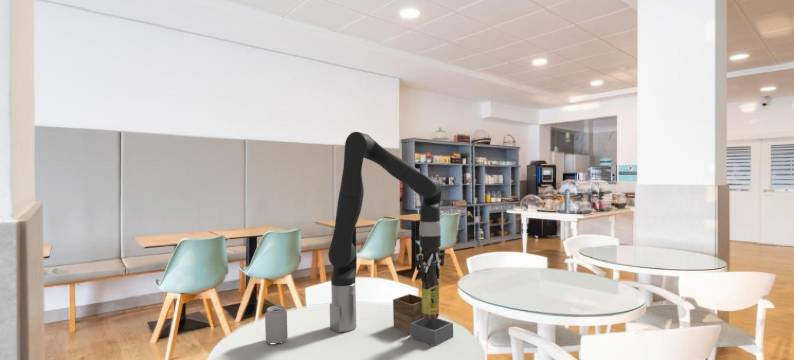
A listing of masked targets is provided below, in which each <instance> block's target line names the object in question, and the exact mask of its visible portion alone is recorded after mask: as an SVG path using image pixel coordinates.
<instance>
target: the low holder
mask: <svg viewBox="0 0 794 360" xmlns="http://www.w3.org/2000/svg"><path fill="white" fill-rule="evenodd" d="M410 337H411V339H412V338H413V339H416V340H418V341H420V342H423V343H426V344H429V345H432V346H434V347H435V346H438V345H440V344H441V343H444V342H446V341H448V340H450V339H452V338H454V322H451V321H449V320H448V321H447V320H446V319H442V318H439V317H438V318H436V319H425V318H422V319H419V320H417V321H415V322H412V323H411V333H410Z"/></svg>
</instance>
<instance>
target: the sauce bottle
mask: <svg viewBox="0 0 794 360" xmlns="http://www.w3.org/2000/svg"><path fill="white" fill-rule="evenodd" d="M424 263H427V262H424ZM427 272H428V282H427V283H423V282H422V281H421V282H422V283H421V297H422V316H423V318H425V319H436V318H439V315H440V282H439V279H437V276H436V261H435V262H431V264H430V266H429V267H428V270H427Z"/></svg>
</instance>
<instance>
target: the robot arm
mask: <svg viewBox="0 0 794 360" xmlns="http://www.w3.org/2000/svg"><path fill="white" fill-rule="evenodd" d="M343 154H344V156H343V166H342V167H343V169H342V173H341V174H342V176H341V181H340V188H339V193H338V197H337V206H336V214H335V222H334V223H335V224H334V231H333V235H332V238H331V242H330V245H329V249H328V253H327V255H328V257H327V258H328V260H329V262H330V264H331V265H332V266H333V269H332V274H331V279H330V280H331V281H330V282H331V287H330V288H331V303H329V328H330V330H333V331H334V332H337V333H339V334H340V333H346V332H347V333H348V332H351V331H353V330H356V328H357V300H356V299H357V295H356V293H357V291H356V278H357V277H356V276H357V257H358V256H357V250H356V249H357V248H356V246H355V245H354V243H353V238H354V237H353V236H354V231H355V228H356V225H357V223H358V220H359V217H360V214H361V211H362V206H363V201H364V194H365V192H364V191H365V190H364V183H363V176H362V175H363V174H362V168H363V163H364V162H363V161H364V159H367V160H369V161H371V162H374V163H375V164H378V165H379V166H380V167H381V168H383V169H384V170H385V171H386V172H387V173H388V174H389V175H390V176H392V177H394V178H395V179H396V180H398V181H400V182H401V183H402V184H404V185H406V186H408V187H409V188H410V189H411V190H412V191H414V193H416V194H417V195H418V196H420V197H422V204H421V206H420V209H419V247H420V249H421V252H420V253H417V254H416V253H415V254H414V259H415V267H416V268H415V269H416V271H418V272H420V275H421V276H420V277H421V278H420V279H421V282H423V283H427V282H428V272H427V270H428V267H429V266H430V264H431V262H435V261H436V276H437V279H438V280H439V279H440V275H441V274H440V273H441V272H440V271H441V270H440V269H441V267H444V264H445V253H446V250H445V249H440V248H441V247H442V242H441V241H442V239H441V237H442V235H441V233H442V232H441V220H440V219H441V217H440V216H441V215H440V214H441V212H440V211H441V210H440V205H441V199H442V185H441V182H440V181H439V179H437V178H435V177H428V176H426V175H424V174H423V173H421V172H420V170H419V169H418V168H416V167H415V166H413V165H412V164H410V163H409V162H407V161H405V160H403V159H402V158H400V157H398V156H397V155H394V154H393V153H391V152H390V151H389V150H387V149H386V148H384V147H383V146H382V145H380V144H379V143H378V142H377V141H376V140H374V139H373V138H372V136H370V135H369V134H367V133H363V132H360V131H353V132H350V134H348V136H347V137H346V140H345V142H344V153H343ZM425 262H427V263H425Z"/></svg>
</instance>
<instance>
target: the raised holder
mask: <svg viewBox="0 0 794 360" xmlns="http://www.w3.org/2000/svg"><path fill="white" fill-rule="evenodd" d="M392 307H393V308H392V310H393V312H392V313H393V315H392V316H393V327H394V328H396V329H399V330H402V331H404V332H407V333H410V334H411V323H412V322H415V321H417V320H419V319H422V318H423V316H422V296H418V295H415V294H410V293H408V294H405V295H403V296H400V297H397V298H393V299H392Z"/></svg>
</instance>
